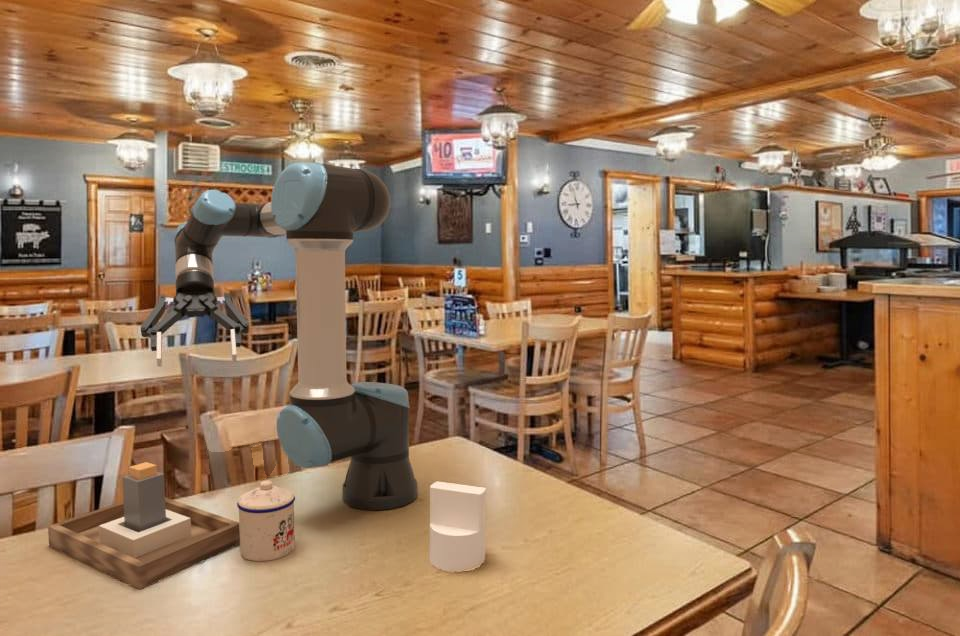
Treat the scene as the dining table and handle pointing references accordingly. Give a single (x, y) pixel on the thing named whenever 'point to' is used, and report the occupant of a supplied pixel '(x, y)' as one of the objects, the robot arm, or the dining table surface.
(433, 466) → the dining table surface
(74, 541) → the brown wooden tray
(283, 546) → the teacup with lid
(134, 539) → the socket
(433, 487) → the cylinder with rectangular tab
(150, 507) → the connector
